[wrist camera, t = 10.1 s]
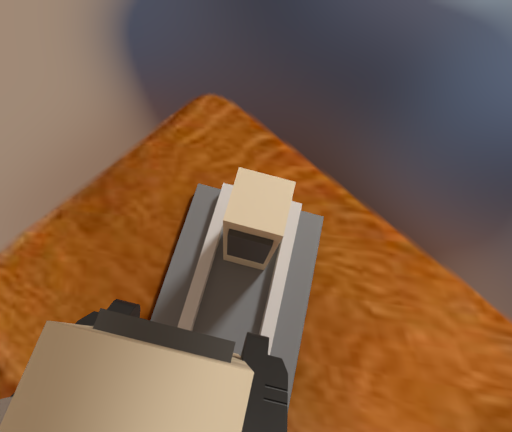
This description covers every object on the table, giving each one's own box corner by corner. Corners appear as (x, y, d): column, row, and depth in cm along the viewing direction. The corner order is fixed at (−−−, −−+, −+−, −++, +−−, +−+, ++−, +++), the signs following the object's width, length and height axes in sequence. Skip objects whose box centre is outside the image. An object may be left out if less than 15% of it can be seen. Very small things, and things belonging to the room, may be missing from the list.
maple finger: (240, 344, 15) (258, 347, 6) (216, 446, 14) (190, 675, 4) (163, 325, 15) (57, 297, 6) (131, 425, 14) (-80, 604, 4)
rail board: (320, 221, 32) (367, 162, 21) (274, 466, 25) (311, 559, 14) (199, 189, 32) (186, 114, 21) (117, 424, 25) (39, 485, 14)
